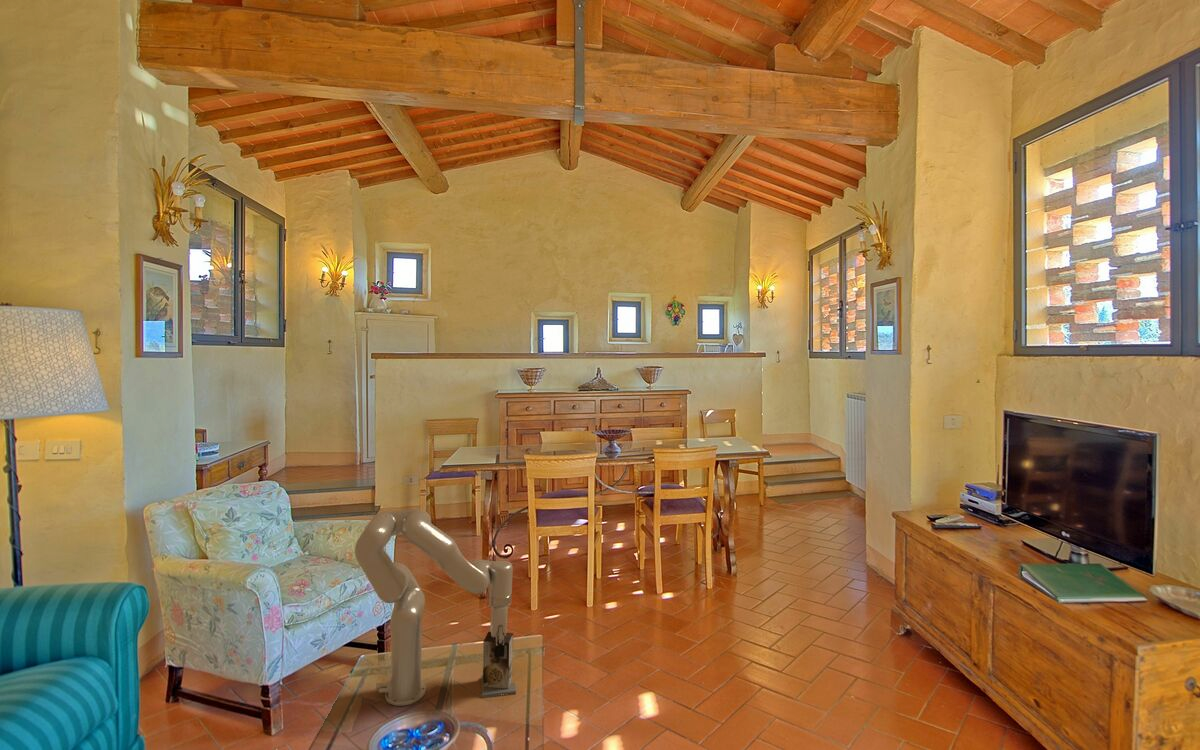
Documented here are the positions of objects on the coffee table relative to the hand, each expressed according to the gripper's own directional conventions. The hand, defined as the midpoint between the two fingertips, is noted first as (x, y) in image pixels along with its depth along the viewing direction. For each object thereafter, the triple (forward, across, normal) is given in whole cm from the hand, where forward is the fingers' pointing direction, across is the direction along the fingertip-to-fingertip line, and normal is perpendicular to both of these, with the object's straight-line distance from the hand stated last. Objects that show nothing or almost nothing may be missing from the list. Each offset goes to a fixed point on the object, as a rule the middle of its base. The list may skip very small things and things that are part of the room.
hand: (498, 648), depth 185 cm
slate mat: (+13, 0, 0) cm, 13 cm away
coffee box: (+12, 0, 0) cm, 13 cm away
